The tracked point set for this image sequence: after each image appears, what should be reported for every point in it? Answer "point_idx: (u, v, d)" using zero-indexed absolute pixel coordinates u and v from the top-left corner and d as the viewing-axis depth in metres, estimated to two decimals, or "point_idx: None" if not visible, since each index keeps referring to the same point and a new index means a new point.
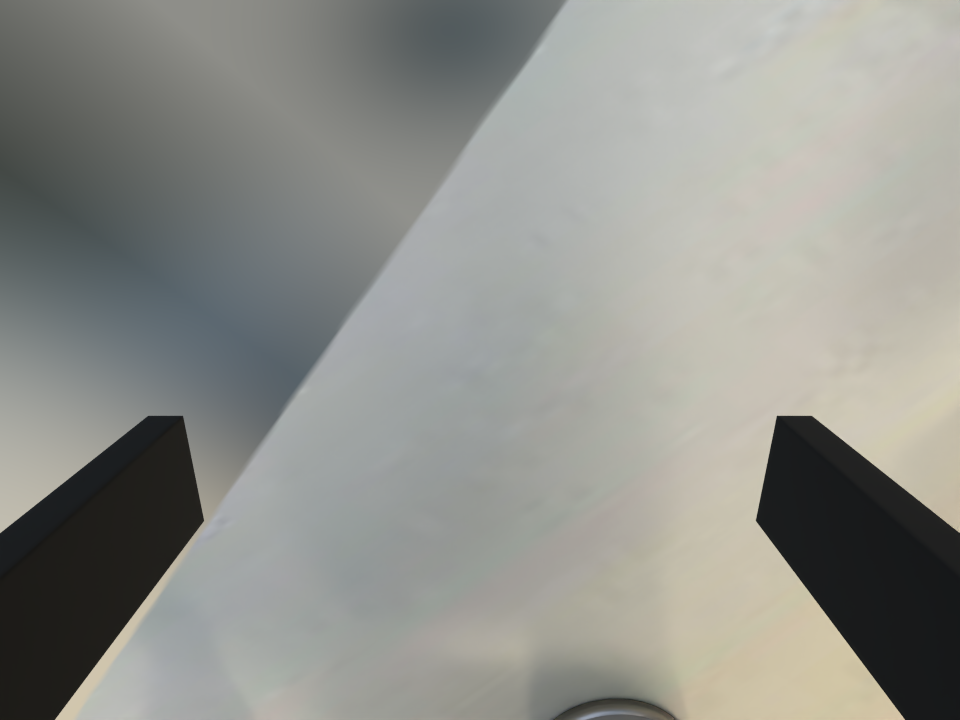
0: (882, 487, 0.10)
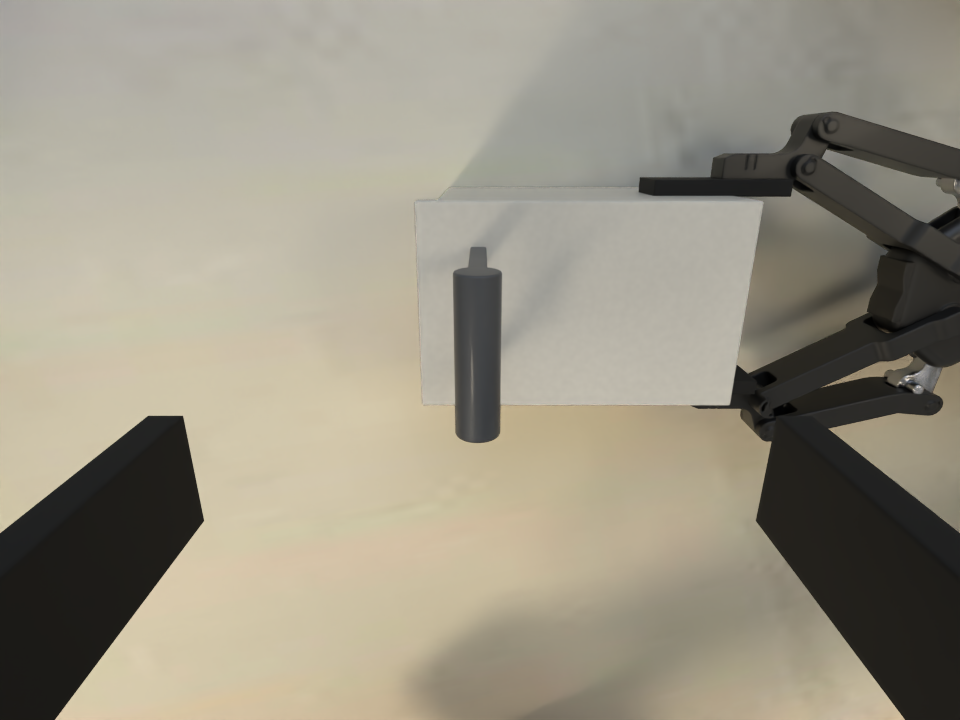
0: (882, 487, 0.10)
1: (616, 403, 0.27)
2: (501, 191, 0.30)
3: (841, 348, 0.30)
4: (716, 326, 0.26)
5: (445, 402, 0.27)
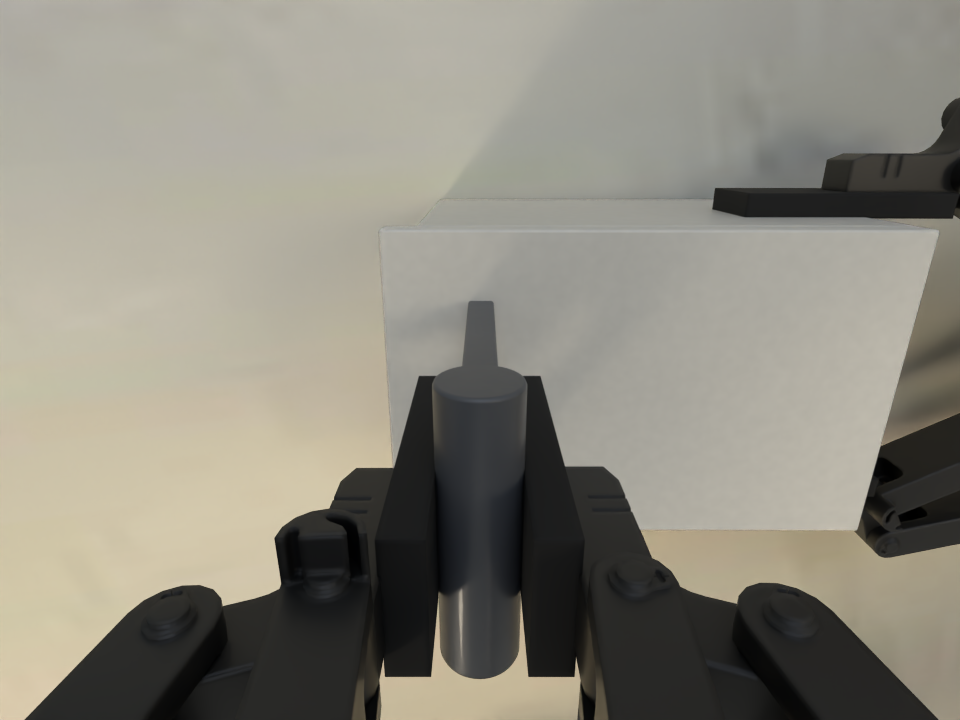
0: (538, 425, 0.12)
1: (687, 527, 0.18)
2: (513, 207, 0.21)
3: None
4: (846, 419, 0.17)
5: None
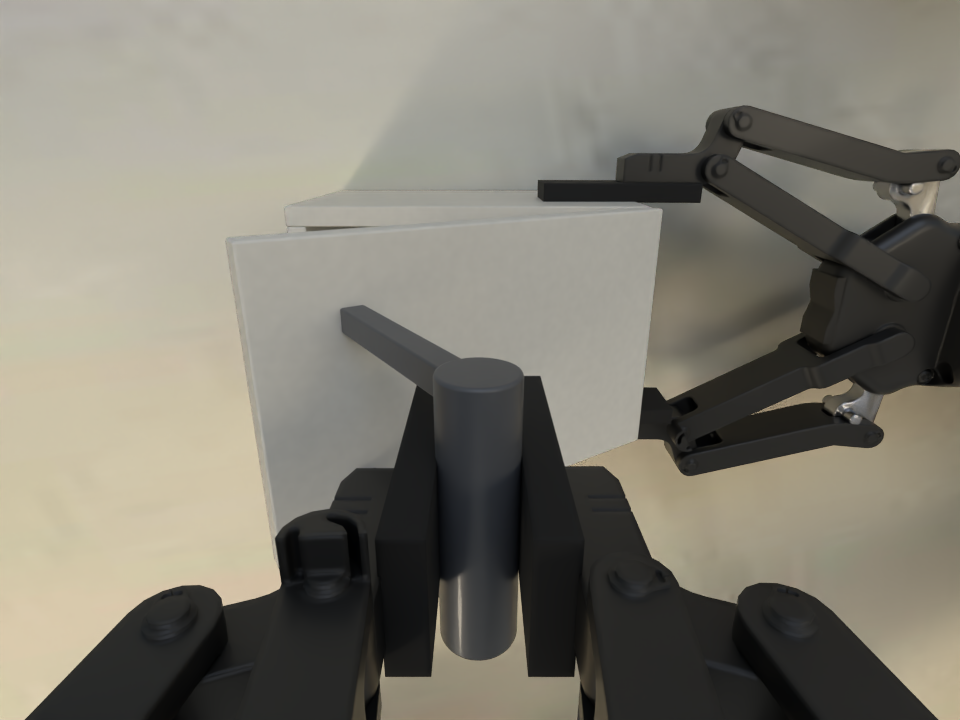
0: (538, 425, 0.12)
1: None
2: (385, 195, 0.26)
3: (768, 373, 0.27)
4: (626, 357, 0.22)
5: None
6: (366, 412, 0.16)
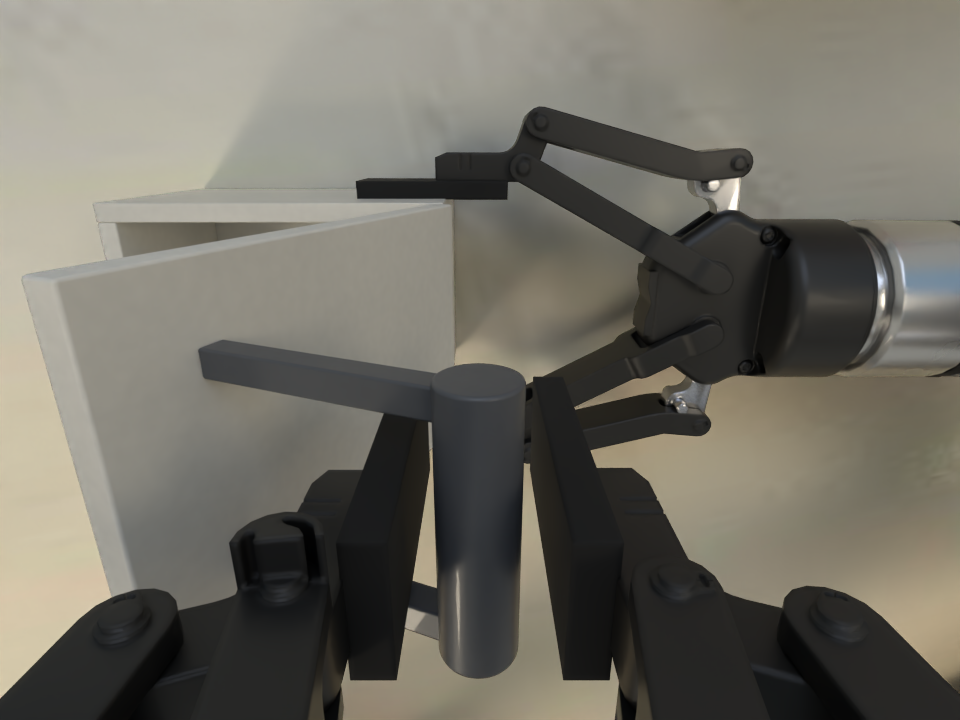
0: (565, 426, 0.12)
1: None
2: (225, 193, 0.27)
3: (597, 364, 0.28)
4: (441, 349, 0.23)
5: None
6: (238, 469, 0.13)
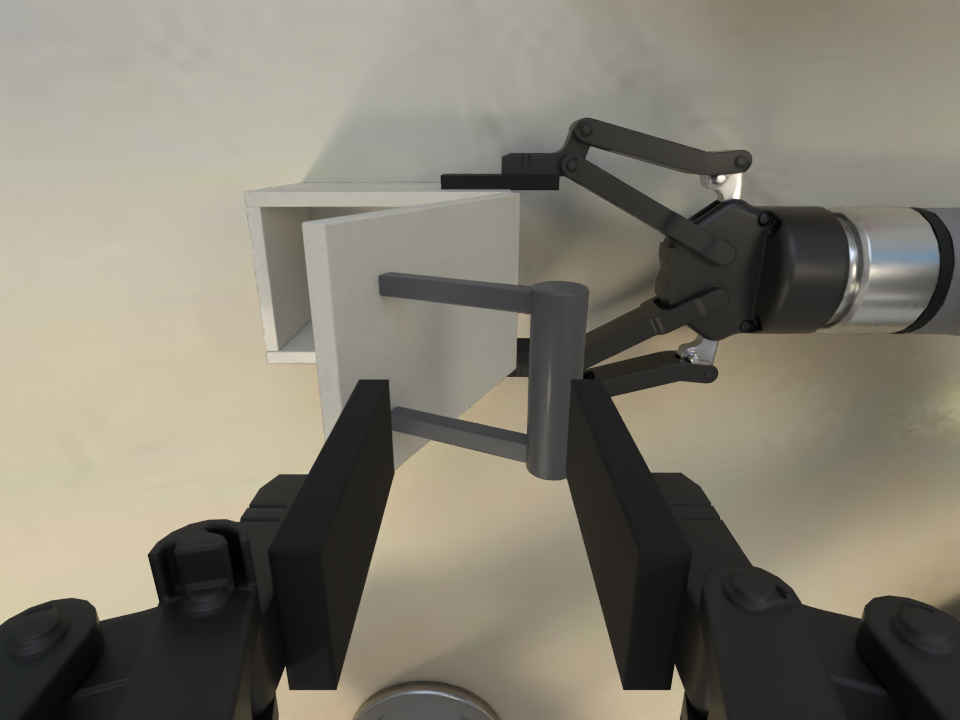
0: (612, 430, 0.12)
1: (472, 403, 0.27)
2: None
3: (626, 323, 0.35)
4: None
5: None
6: (392, 360, 0.20)
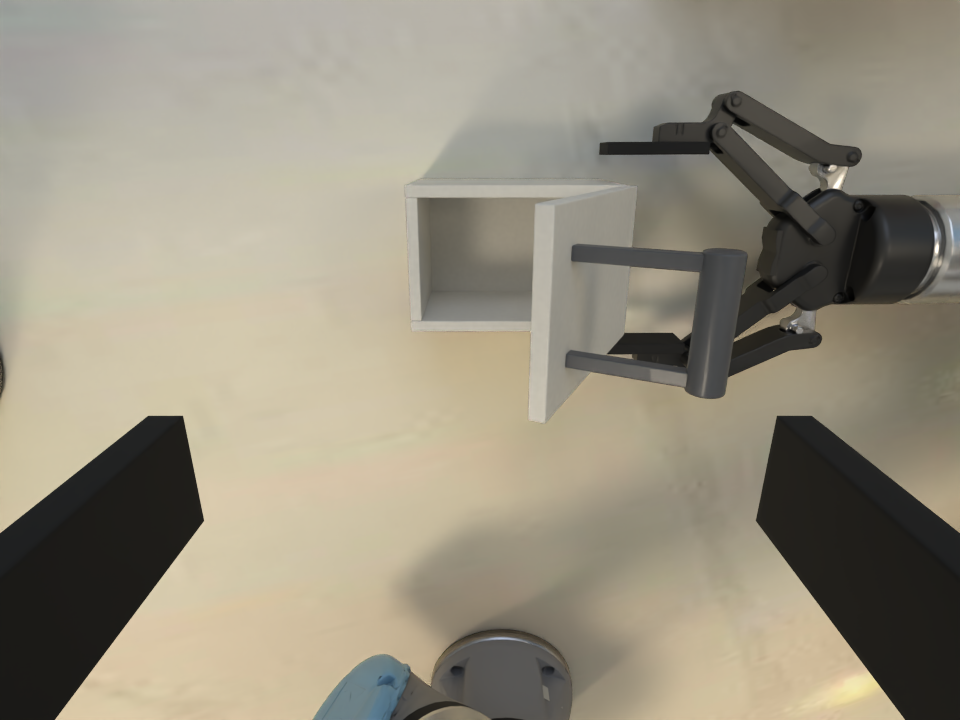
0: (882, 487, 0.10)
1: None
2: None
3: (740, 310, 0.41)
4: (625, 279, 0.35)
5: (553, 411, 0.26)
6: (571, 313, 0.26)
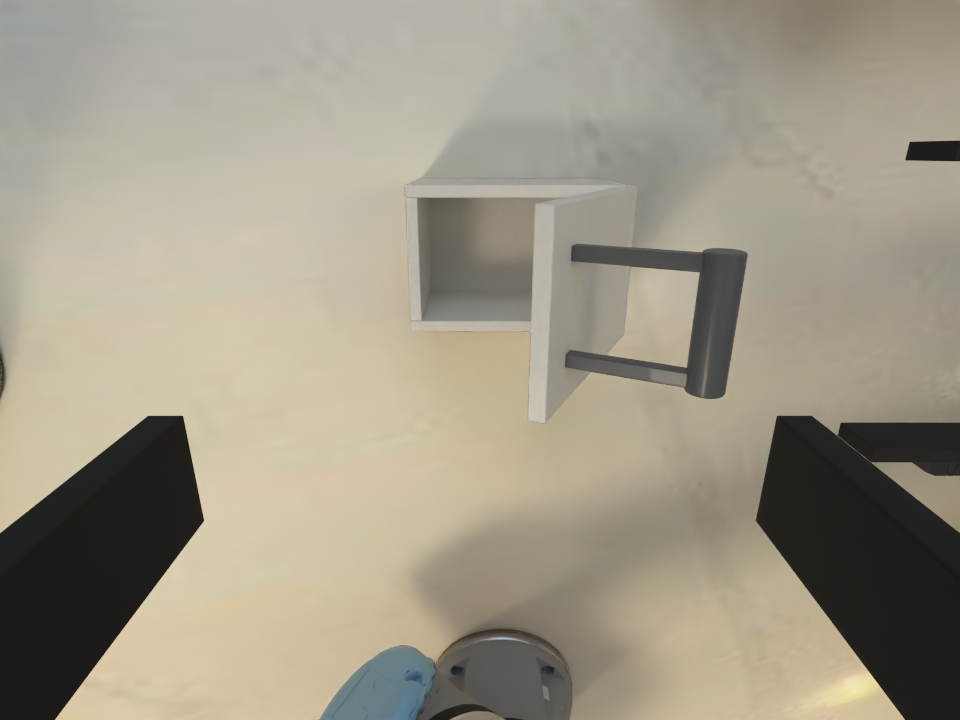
0: (882, 487, 0.10)
1: None
2: None
3: None
4: (625, 279, 0.35)
5: (553, 411, 0.26)
6: (571, 313, 0.26)
